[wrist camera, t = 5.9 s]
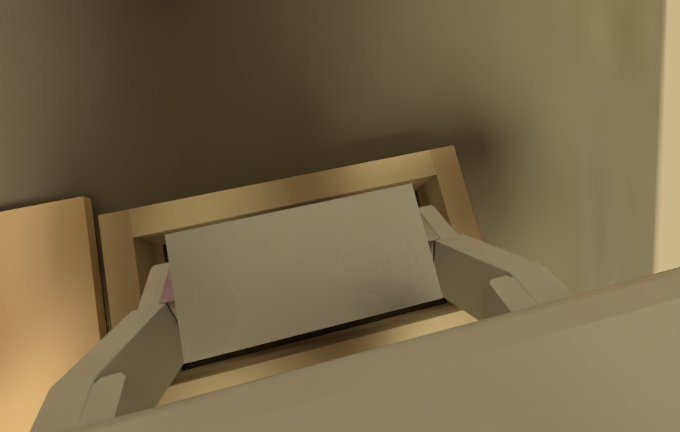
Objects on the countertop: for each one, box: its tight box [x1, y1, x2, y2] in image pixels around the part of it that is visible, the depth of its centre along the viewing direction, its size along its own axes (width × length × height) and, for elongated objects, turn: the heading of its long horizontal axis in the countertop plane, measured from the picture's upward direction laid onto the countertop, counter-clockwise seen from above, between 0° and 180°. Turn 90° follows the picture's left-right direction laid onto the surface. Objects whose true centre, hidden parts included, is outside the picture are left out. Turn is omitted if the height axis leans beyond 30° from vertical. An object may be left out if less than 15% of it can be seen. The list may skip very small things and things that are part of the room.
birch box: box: [98, 145, 483, 407], centre depth 13 cm, size 13×7×2 cm, turn 103°
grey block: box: [165, 183, 443, 364], centre depth 11 cm, size 5×2×8 cm, turn 103°
